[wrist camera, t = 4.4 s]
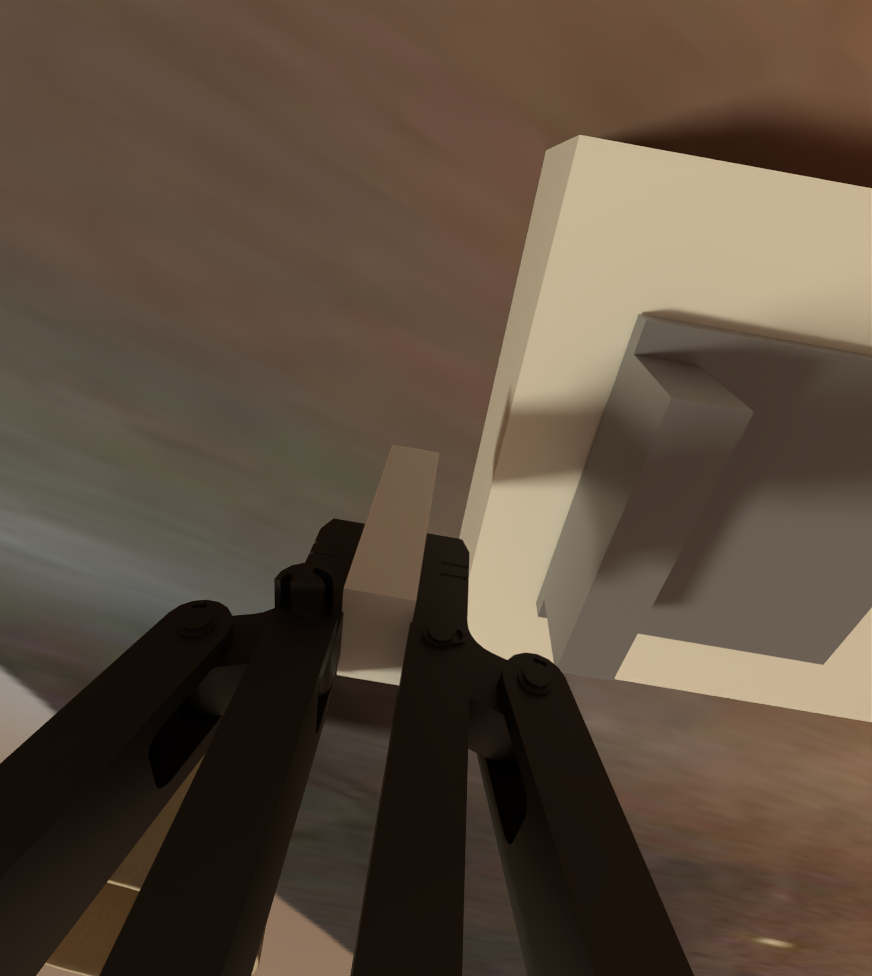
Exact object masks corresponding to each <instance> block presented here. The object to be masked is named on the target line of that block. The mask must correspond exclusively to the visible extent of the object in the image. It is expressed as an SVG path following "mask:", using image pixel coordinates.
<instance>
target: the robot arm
mask: <svg viewBox="0 0 872 976" xmlns="http://www.w3.org/2000/svg"><path fill="white" fill-rule="evenodd" d="M438 458H439V453H438V452H432V451H426V450H420V449H415V448H409V447H403V446H398V445H392V447H391V450H390V453H389V456H388V459H387V462H386V464H385V467H384V470H383V473H382V476H381V479H380V482H379V485H378V488H377V491H376V494H375V497H374V500H373V503H372V506H371V509H370V512H369V515H368V518H367V521H366V524H362V523H356V522H351V521H345V520H339V519H332V520H331V521H330V522H329V523H327V524H326V525H325V526H323V527H322V528H321V529H320V531H319V534H318V536H317V538H316V540H315V544H313V547H312V549H311V551H310V555H308V557H307V560H306V562H305V563H301V564H297V565H292V566H290V567H288V568H286V569H284V570H283V571H281V572H280V573H279V574H278V576H277V577H276V578H275V579H274V583H275V608H274V609H271V610H269V611H266V612H262V613H257V614H248V615H237V616H232V614H231V613H230V611H229V609H228V608H227V607H226V606H224V605H223V604H221V603H219V602H215V601H210V600H198V601H191V602H189V603H186V604H183V605H180V606H178V607H177V608H175V609H174V610H172V611H171V612H169V613H168V614H167V615H166V616H165V617H163V618H162V619H161V620H160V621H159V622H158V623H157V624H156V625H155V626H153V627H152V628H151V629H150V630H149V631H148V632H147V633H146V634H144V635H143V636H142V637H141V638H140V639H139V640H138V641H137V642H136V643H134V644H133V645H132V646H131V647H130V648H129V649H128V650H127V651H126V652H124V653H123V654H122V655H121V656H120V657H119V658H118V659H117V660H115V661H114V662H113V663H112V664H111V665H110V666H109V667H108V668H107V669H105V670H104V671H103V672H102V673H101V674H100V675H99V676H98V677H97V678H95V679H94V680H93V681H92V682H91V683H90V684H89V685H88V686H86V687H85V688H84V689H83V690H82V691H81V692H80V693H79V694H78V695H76V696H75V697H74V698H73V699H72V700H71V701H70V702H69V703H67V704H66V705H65V706H64V707H63V708H62V709H61V710H60V711H59V712H57V713H56V714H55V715H54V716H53V717H52V718H51V719H50V720H49V721H48V722H46V723H45V724H44V725H43V726H42V727H41V728H40V729H39V730H37V731H36V732H35V733H34V734H33V735H32V736H31V737H30V738H28V739H27V740H26V741H25V742H24V743H23V744H22V745H21V746H20V747H18V748H17V749H16V750H15V751H14V752H13V753H12V754H11V755H10V756H8V757H7V758H6V759H5V760H4V761H3V762H2V763H1V764H0V976H36V975H37V973H38V972H39V971H40V969H41V968H42V967H43V966H44V964H45V963H46V962H47V960H48V959H49V958H50V956H51V955H52V954H53V953H54V951H55V950H56V949H57V947H58V946H59V945H60V943H61V942H62V941H63V939H64V938H65V937H66V935H67V934H68V933H69V932H70V930H71V929H72V928H73V926H74V925H75V924H76V922H77V921H78V920H79V918H80V917H81V916H82V914H83V913H84V912H85V911H86V909H87V908H88V907H89V905H90V904H91V903H92V901H93V900H94V899H95V897H96V896H97V895H98V893H99V892H100V891H101V890H102V888H103V887H104V886H105V884H106V883H107V882H108V880H109V879H110V878H111V876H112V875H113V874H114V872H115V871H116V870H117V869H118V867H119V866H120V865H121V863H122V862H123V861H124V859H125V858H126V857H127V855H128V854H129V853H130V852H131V850H132V849H133V848H134V846H135V845H136V844H137V842H138V841H139V840H140V838H141V837H142V836H143V834H144V833H145V832H146V831H147V829H148V828H149V827H150V825H151V824H152V823H153V821H154V820H155V819H156V817H157V816H158V815H159V813H160V812H161V811H162V810H163V808H164V807H165V806H166V804H167V803H168V802H169V800H170V799H171V798H172V796H173V795H174V794H175V792H176V791H177V790H178V789H179V787H180V786H181V785H182V783H183V782H184V781H185V779H186V778H187V777H188V775H189V774H190V773H191V771H192V770H193V769H194V768H195V766H196V765H197V764H198V762H199V761H200V760H201V758H202V757H203V756H204V758H203V760H202V762H201V764H200V766H199V768H198V770H197V772H196V774H195V776H194V778H193V781H192V783H191V785H190V787H189V789H188V791H187V793H186V795H185V797H184V799H183V801H182V804H181V806H180V808H179V810H178V812H177V814H176V816H175V818H174V820H173V822H172V824H171V826H170V829H169V831H168V833H167V835H166V837H165V839H164V841H163V843H162V845H161V847H160V849H159V852H158V854H157V856H156V858H155V860H154V862H153V864H152V866H151V868H150V870H149V872H148V874H147V877H146V879H145V881H144V883H143V885H142V887H141V889H140V891H139V893H138V895H137V897H136V900H135V902H134V904H133V906H132V908H131V910H130V912H129V914H128V916H127V918H126V920H125V923H124V925H123V927H122V929H121V931H120V933H119V935H118V937H117V939H116V941H115V943H114V945H113V948H112V950H111V952H110V954H109V956H108V958H107V960H106V962H105V964H104V966H103V968H102V971H101V973H100V975H99V976H251V975H252V971H253V968H254V964H255V961H256V958H257V954H258V951H259V947H260V944H261V940H262V937H263V933H264V930H265V926H266V922H267V919H268V915H269V912H270V909H271V905H272V902H273V898H274V895H275V891H276V888H277V884H278V881H279V878H280V874H281V871H282V867H283V864H284V860H285V857H286V853H287V850H288V846H289V843H290V839H291V836H292V832H293V829H294V825H295V822H296V818H297V815H298V811H299V808H300V805H301V801H302V798H303V794H304V791H305V787H306V784H307V780H308V777H309V773H310V770H311V766H312V763H313V759H314V756H315V752H316V749H317V745H318V742H319V738H320V735H321V731H322V728H323V725H324V721H325V718H326V714H327V711H328V707H329V704H330V700H331V696H332V683H333V679H334V676H335V672H336V669H337V675H340V676H346V677H352V678H358V679H364V680H370V681H376V682H382V683H388V684H394V685H399V689H398V695H397V700H396V706H395V711H394V717H393V722H392V730H391V736H390V742H389V748H388V754H387V760H386V766H385V772H384V777H383V783H382V789H381V795H380V801H379V807H378V813H377V819H376V825H375V831H374V837H373V843H372V849H371V855H370V861H369V867H368V873H367V879H366V885H365V891H364V897H363V903H362V909H361V915H360V921H359V927H358V933H357V939H356V945H355V951H354V957H353V963H352V969H351V975H350V976H462V953H463V916H464V878H465V841H466V804H467V767H468V749H470V750H472V751H474V752H476V753H477V757H478V761H479V766H480V770H481V774H482V779H483V783H484V788H485V792H486V796H487V801H488V805H489V809H490V814H491V818H492V823H493V827H494V831H495V836H496V840H497V844H498V849H499V853H500V858H501V862H502V866H503V871H504V875H505V879H506V884H507V888H508V893H509V897H510V901H511V906H512V910H513V914H514V919H515V923H516V927H517V932H518V936H519V941H520V945H521V949H522V954H523V958H524V962H525V967H526V971H527V976H694V975H693V972H692V970H691V968H690V966H689V963H688V961H687V959H686V956H685V954H684V952H683V949H682V947H681V945H680V942H679V940H678V938H677V935H676V933H675V931H674V928H673V926H672V924H671V921H670V919H669V917H668V915H667V912H666V910H665V908H664V905H663V903H662V901H661V898H660V896H659V894H658V891H657V889H656V887H655V884H654V882H653V880H652V877H651V875H650V873H649V870H648V868H647V866H646V864H645V861H644V859H643V857H642V854H641V852H640V850H639V847H638V845H637V843H636V840H635V838H634V836H633V833H632V831H631V829H630V826H629V824H628V822H627V819H626V817H625V815H624V813H623V810H622V808H621V806H620V803H619V801H618V799H617V796H616V794H615V792H614V789H613V787H612V785H611V782H610V780H609V778H608V775H607V773H606V771H605V768H604V766H603V764H602V762H601V759H600V757H599V755H598V752H597V750H596V748H595V745H594V743H593V741H592V738H591V736H590V734H589V731H588V729H587V727H586V724H585V722H584V720H583V717H582V715H581V713H580V711H579V708H578V706H577V704H576V701H575V699H574V697H573V694H572V692H571V690H570V687H569V685H568V683H567V680H566V678H565V677H564V675H563V673H562V672H561V670H560V669H559V668H558V667H557V666H556V665H555V664H554V663H552V662H551V661H550V660H549V659H547V658H545V657H542V656H540V655H538V654H533V653H520V654H516V655H513V656H512V657H511V658H509V659H508V660H506V659H504V658H502V657H500V656H498V655H495V654H493V653H491V652H490V651H488V650H486V649H484V648H483V647H482V646H481V645H480V644H478V643H477V642H476V641H475V639H474V638H473V637H472V635H471V633H470V631H469V628H468V622H467V617H468V586H469V580H468V579H469V555H470V553H469V551H468V549H467V547H466V545H465V543H464V542H463V540H462V539H457V538H451V537H445V536H439V535H433V534H428V533H427V529H428V522H429V516H430V509H431V503H432V496H433V490H434V484H435V477H436V471H437V464H438ZM204 754H205V755H204Z"/></svg>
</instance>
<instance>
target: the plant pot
mask: <svg viewBox="0 0 872 976" xmlns="http://www.w3.org/2000/svg"><path fill="white" fill-rule="evenodd" d="M204 755H205V754H204ZM203 758H204V756H203V757H202V758H201V760H200V761H199V762H198V764H197V765H196V766H195V768H194V769H193V770H192V771H191V773H190V774H189V775H188V777H187V778H186V779H185V781H184V782H183V783H182V785H181V786H180V787H179V789H178V790H177V791H176V792H175V794H174V795H173V796H172V798H171V799H170V800H169V802H168V803H167V804H166V806H165V807H164V808H163V810H162V811H161V812H160V813H159V815H158V816H157V817H156V819H155V820H154V821H153V823H152V824H151V825H150V827H149V828H148V829H147V831H146V832H145V833H144V834H143V836H142V837H141V838H140V840H139V841H138V842H137V844H136V845H135V846H134V848H133V849H132V850H131V852H130V853H129V854H128V855H127V857H126V858H125V859H124V861H123V862H122V863H121V865H120V866H119V867H118V869H117V870H116V871H115V872H114V874H113V875H112V876H111V878H110V879H109V880H108V882H107V883H106V884H105V886H104V887H103V888H102V890H101V891H100V892H99V893H98V895H97V896H96V897H95V899H94V900H93V901H92V903H91V904H90V905H89V907H88V908H87V909H86V911H85V912H84V913H83V914H82V916H81V917H80V918H79V920H78V921H77V922H76V924H75V925H74V926H73V928H72V929H71V930H70V932H69V933H68V934H67V935H66V937H65V938H64V939H63V941H62V942H61V943H60V945H59V946H58V947H57V949H56V950H55V951H54V953H53V954H52V955H51V956H50V958H49V959H48V960H47V962H46V963H45V965H48V966H52V967H55V968H58V969H62V970H65V971H69V972H72V973H76V974H80V975H84V976H99V975H100V973H101V971H102V968H103V966H104V964H105V962H106V960H107V958H108V956H109V954H110V952H111V950H112V948H113V945H114V943H115V941H116V939H117V937H118V935H119V933H120V931H121V929H122V927H123V925H124V923H125V920H126V918H127V916H128V914H129V912H130V910H131V908H132V906H133V904H134V902H135V900H136V897H137V895H138V893H139V891H140V889H141V887H142V885H143V883H144V881H145V879H146V877H147V874H148V872H149V870H150V868H151V866H152V864H153V862H154V860H155V858H156V856H157V854H158V852H159V849H160V847H161V845H162V843H163V841H164V839H165V837H166V835H167V833H168V831H169V829H170V826H171V824H172V822H173V820H174V818H175V816H176V814H177V812H178V810H179V808H180V806H181V804H182V801H183V799H184V797H185V795H186V793H187V791H188V789H189V787H190V785H191V783H192V781H193V778H194V776H195V774H196V772H197V770H198V768H199V766H200V764H201V762H202V760H203ZM265 927H266V926H265ZM264 933H265V930H264ZM264 933H263V937H262V940H261V944H260V947H259V951H258V954H257V958H256V961H255V964H254V968H253V971H252V975H253V974H254V973H255V972H256V971H257V969H258V966H259V961H260V956H261V951H262V945H263V939H264ZM252 975H251V976H252Z"/></svg>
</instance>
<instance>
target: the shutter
mask: <svg viewBox="0 0 872 976" xmlns="http://www.w3.org/2000/svg"><path fill="white" fill-rule="evenodd" d="M536 607H537V614H538V617H543V618H547V621H548V627H549V634H550V641H551V647H552V654H553V661H554V664H555V665H556V666H557V667H558V668H559V669H560V670H561V672H562V673H567V674H573V675H579V676H585V677H591V678H597V679H602V680H608V681H613V680H614V678H615V676H616V674H617V672H618V670H619V668H620V666H621V665H622V663H623V661H624V659H625V657H626V655H627V653H628V651H629V649H630V647H631V646H632V644H633V642H634V640H635V638H636V636H637V634H643V635H649V636H655V637H661V638H667V639H673V640H679V641H685V642H691V643H697V644H702V645H708V646H714V647H720V648H726V649H732V650H738V651H744V652H750V653H756V654H762V655H768V656H773V657H779V658H785V659H791V660H797V661H803V662H809V663H815V664H821V665H824V664H825V662H826V661H827V660H828V659H829V658H830V656H831V655H832V654H833V653H834V652H835V650H836V649H837V648H838V647H839V646H840V645H841V643H842V642H843V641H844V640H845V639H846V637H847V636H848V635H849V634H850V633H851V632H852V630H853V629H854V628H855V627H856V626H857V624H858V623H859V622H860V621H861V620H862V619H863V617H864V616H865V615H866V614H867V613H868V611H869V610H870V609H871V608H872V355H867V354H862V353H856V352H850V351H845V350H839V349H834V348H828V347H822V346H817V345H811V344H806V343H800V342H794V341H789V340H783V339H777V338H772V337H766V336H761V335H755V334H749V333H744V332H738V331H733V330H727V329H721V328H716V327H710V326H705V325H699V324H693V323H688V322H682V321H677V320H671V319H665V318H660V317H654V316H649V315H643V314H638V317H637V320H636V323H635V326H634V328H633V331H632V334H631V337H630V340H629V342H628V345H627V348H626V351H625V354H624V357H623V359H622V362H621V365H620V368H619V371H618V373H617V376H616V379H615V382H614V385H613V388H612V390H611V393H610V396H609V399H608V402H607V404H606V407H605V410H604V413H603V416H602V418H601V421H600V424H599V427H598V430H597V433H596V435H595V438H594V441H593V444H592V447H591V449H590V452H589V455H588V458H587V461H586V463H585V466H584V469H583V472H582V475H581V478H580V480H579V483H578V486H577V489H576V492H575V494H574V497H573V500H572V503H571V506H570V509H569V511H568V514H567V517H566V520H565V523H564V525H563V528H562V531H561V534H560V537H559V539H558V542H557V545H556V548H555V551H554V554H553V556H552V559H551V562H550V565H549V568H548V570H547V573H546V576H545V579H544V582H543V584H542V587H541V590H540V593H539V596H538V599H537V601H536Z"/></svg>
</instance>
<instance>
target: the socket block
mask: <svg viewBox="0 0 872 976" xmlns="http://www.w3.org/2000/svg"><path fill="white" fill-rule="evenodd" d="M638 314H643V315H649V316H654V317H660V318H665V319H671V320H677V321H682V322H688V323H693V324H699V325H705V326H710V327H716V328H721V329H727V330H733V331H738V332H744V333H749V334H755V335H761V336H766V337H772V338H777V339H783V340H789V341H794V342H800V343H806V344H811V345H817V346H822V347H828V348H834V349H839V350H845V351H850V352H856V353H862V354H867V355H872V188H867V187H861V186H856V185H851V184H845V183H840V182H834V181H829V180H823V179H818V178H812V177H807V176H801V175H796V174H791V173H785V172H780V171H774V170H769V169H763V168H758V167H752V166H747V165H741V164H736V163H731V162H725V161H720V160H714V159H709V158H703V157H698V156H692V155H687V154H681V153H676V152H671V151H665V150H660V149H654V148H649V147H643V146H638V145H632V144H627V143H621V142H616V141H611V140H605V139H600V138H594V137H589V136H583V135H578V136H576V137H574V138H572V139H570V140H567V141H565V142H563V143H561V144H559V145H557V146H554V147H552V148H550V149H548V150H546V153H545V157H544V162H543V166H542V171H541V175H540V180H539V184H538V189H537V193H536V197H535V202H534V206H533V211H532V215H531V220H530V224H529V229H528V233H527V238H526V242H525V247H524V251H523V255H522V260H521V264H520V269H519V273H518V278H517V282H516V287H515V291H514V296H513V300H512V305H511V309H510V314H509V318H508V322H507V327H506V331H505V336H504V340H503V345H502V349H501V354H500V358H499V363H498V367H497V372H496V376H495V380H494V385H493V389H492V394H491V398H490V403H489V407H488V412H487V416H486V421H485V425H484V430H483V434H482V439H481V443H480V447H479V452H478V456H477V461H476V465H475V470H474V474H473V479H472V483H471V488H470V492H469V497H468V501H467V505H466V510H465V514H464V519H463V523H462V528H461V532H460V537H459V539H462V540H463V542H464V543H465V545H466V547H467V549H468V551H469V553H470V555H469V579H468V580H469V586H468V617H467V622H468V628H469V631H470V633H471V635H472V637H473V638H474V639H475V641H476V642H477V643H478V644H480V645H481V646H482V647H483V648H484V649H486V650H488V651H490V652H491V653H493V654H495V655H498V656H500V657H502V658H504V659H506V660H508V659H509V658H511V657H512V656H513V655H516V654H520V653H533V654H538V655H540V656H542V657H545V658H547V659H549V660H550V661H551V662H552V663H554V661H553V654H552V647H551V641H550V634H549V627H548V621H547V618H543V617H538V614H537V607H536V601H537V599H538V596H539V593H540V590H541V587H542V584H543V582H544V579H545V576H546V573H547V570H548V568H549V565H550V562H551V559H552V556H553V554H554V551H555V548H556V545H557V542H558V539H559V537H560V534H561V531H562V528H563V525H564V523H565V520H566V517H567V514H568V511H569V509H570V506H571V503H572V500H573V497H574V494H575V492H576V489H577V486H578V483H579V480H580V478H581V475H582V472H583V469H584V466H585V463H586V461H587V458H588V455H589V452H590V449H591V447H592V444H593V441H594V438H595V435H596V433H597V430H598V427H599V424H600V421H601V418H602V416H603V413H604V410H605V407H606V404H607V402H608V399H609V396H610V393H611V390H612V388H613V385H614V382H615V379H616V376H617V373H618V371H619V368H620V365H621V362H622V359H623V357H624V354H625V351H626V348H627V345H628V342H629V340H630V337H631V334H632V331H633V328H634V326H635V323H636V320H637V317H638ZM614 679H618V680H624V681H629V682H635V683H641V684H647V685H653V686H659V687H665V688H671V689H677V690H683V691H689V692H695V693H701V694H707V695H713V696H719V697H725V698H731V699H737V700H743V701H749V702H755V703H761V704H767V705H773V706H779V707H785V708H791V709H797V710H803V711H809V712H815V713H820V714H826V715H832V716H838V717H844V718H850V719H856V720H862V721H868V722H872V608H871V609H870V610H869V611H868V613H867V614H866V615H865V616H864V617H863V619H862V620H861V621H860V622H859V623H858V624H857V626H856V627H855V628H854V629H853V630H852V632H851V633H850V634H849V635H848V636H847V637H846V639H845V640H844V641H843V642H842V643H841V645H840V646H839V647H838V648H837V649H836V650H835V652H834V653H833V654H832V655H831V656H830V658H829V659H828V660H827V661H826V662H825V664H824V665H821V664H815V663H809V662H803V661H797V660H791V659H785V658H779V657H773V656H768V655H762V654H756V653H750V652H744V651H738V650H732V649H726V648H720V647H714V646H708V645H702V644H697V643H691V642H685V641H679V640H673V639H667V638H661V637H655V636H649V635H643V634H637V636H636V638H635V640H634V642H633V644H632V646H631V647H630V649H629V651H628V653H627V655H626V657H625V659H624V661H623V663H622V665H621V666H620V668H619V670H618V672H617V674H616V676H615V678H614Z"/></svg>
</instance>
